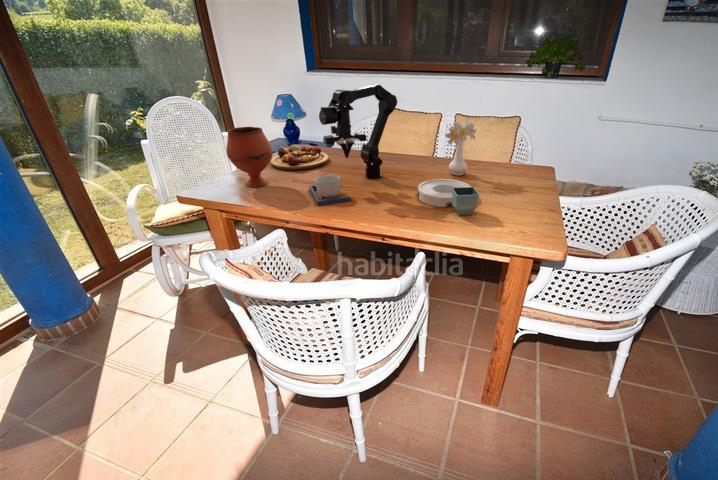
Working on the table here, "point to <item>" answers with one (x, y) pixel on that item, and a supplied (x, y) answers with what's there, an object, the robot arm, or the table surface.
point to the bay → (327, 201)
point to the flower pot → (465, 200)
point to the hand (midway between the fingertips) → (346, 157)
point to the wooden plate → (299, 158)
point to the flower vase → (459, 145)
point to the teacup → (328, 186)
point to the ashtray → (438, 191)
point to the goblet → (249, 152)
